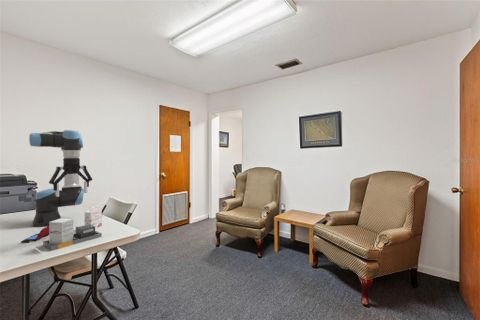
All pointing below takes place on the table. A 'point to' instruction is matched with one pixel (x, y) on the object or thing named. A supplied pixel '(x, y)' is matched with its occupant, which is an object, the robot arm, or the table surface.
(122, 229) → the table surface
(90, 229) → the dark grey box
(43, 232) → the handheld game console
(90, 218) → the ink cartridge box
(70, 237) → the supplement box
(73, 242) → the rack
